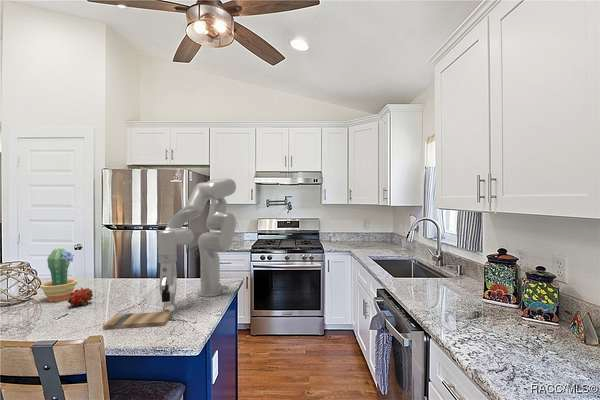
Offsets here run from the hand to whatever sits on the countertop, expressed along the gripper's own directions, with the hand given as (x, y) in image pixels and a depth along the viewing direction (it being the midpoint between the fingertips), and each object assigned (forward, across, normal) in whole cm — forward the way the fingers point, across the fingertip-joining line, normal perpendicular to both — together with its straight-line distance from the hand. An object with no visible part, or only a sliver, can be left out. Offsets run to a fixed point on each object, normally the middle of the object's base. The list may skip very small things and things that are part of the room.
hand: (168, 298), depth 143 cm
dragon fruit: (+6, +15, +43) cm, 46 cm away
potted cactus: (+6, +28, +59) cm, 66 cm away
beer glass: (+5, 0, 0) cm, 5 cm away
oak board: (+5, -12, +8) cm, 15 cm away
